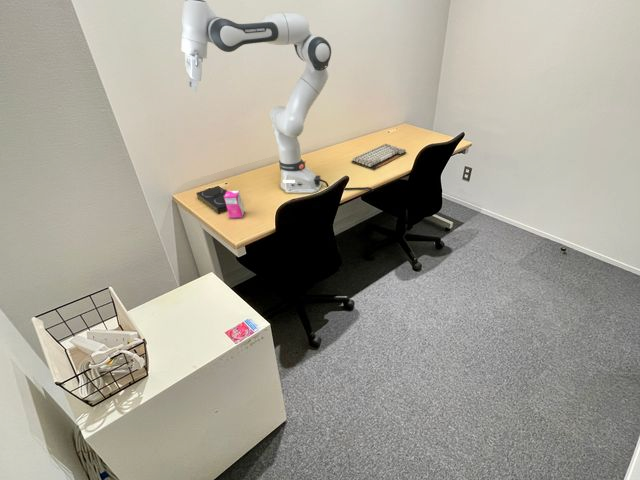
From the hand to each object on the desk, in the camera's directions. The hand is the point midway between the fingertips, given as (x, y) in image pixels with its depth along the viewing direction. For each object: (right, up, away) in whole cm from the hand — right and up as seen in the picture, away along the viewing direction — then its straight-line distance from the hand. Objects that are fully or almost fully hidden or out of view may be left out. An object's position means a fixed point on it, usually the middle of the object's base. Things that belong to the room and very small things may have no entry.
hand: (192, 88), depth 132 cm
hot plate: (-3, -39, +32) cm, 51 cm away
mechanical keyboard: (+82, -1, +81) cm, 115 cm away
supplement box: (+10, -48, +22) cm, 54 cm away
